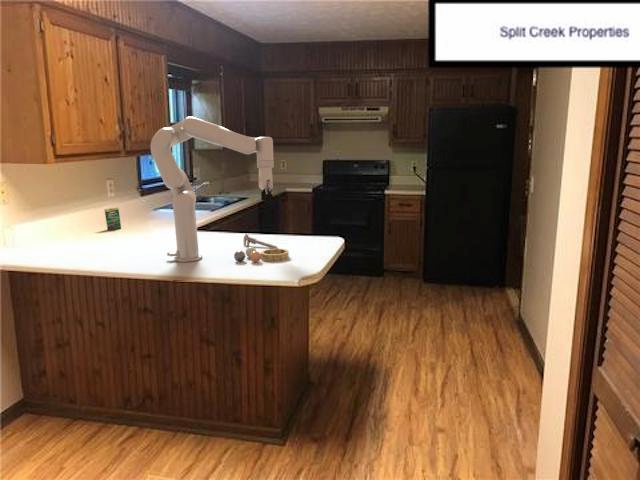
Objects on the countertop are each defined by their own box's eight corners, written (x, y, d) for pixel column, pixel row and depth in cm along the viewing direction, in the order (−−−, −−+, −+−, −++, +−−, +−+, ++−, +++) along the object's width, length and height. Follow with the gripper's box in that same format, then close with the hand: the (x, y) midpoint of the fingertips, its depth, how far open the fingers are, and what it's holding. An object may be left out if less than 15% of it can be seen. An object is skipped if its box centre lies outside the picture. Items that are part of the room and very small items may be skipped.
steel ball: (235, 263, 228) (234, 252, 227) (233, 260, 233) (233, 250, 232) (246, 262, 230) (245, 251, 229) (244, 259, 235) (244, 249, 233)
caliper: (243, 246, 264) (243, 234, 263) (244, 245, 265) (244, 233, 263) (277, 249, 255) (277, 237, 253) (278, 248, 256) (278, 236, 254)
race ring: (263, 262, 229) (263, 256, 228) (259, 256, 240) (258, 250, 240) (291, 260, 232) (290, 253, 231) (285, 253, 244) (284, 247, 243)
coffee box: (107, 230, 315) (104, 209, 312) (106, 229, 317) (104, 208, 315) (121, 228, 318) (119, 207, 316) (120, 228, 321) (118, 207, 318)
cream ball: (246, 259, 236) (246, 248, 235) (245, 256, 240) (244, 246, 239) (257, 258, 237) (256, 247, 236) (255, 255, 242) (255, 245, 241)
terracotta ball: (250, 263, 227) (250, 252, 226) (249, 261, 232) (248, 250, 231) (262, 262, 228) (261, 251, 227) (260, 260, 233) (259, 249, 232)
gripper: (253, 163, 242) (255, 199, 246) (261, 165, 226) (262, 204, 230) (269, 163, 244) (271, 198, 248) (277, 165, 228) (279, 203, 232)
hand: (267, 201), depth 239 cm, fingers open, 9 cm apart
